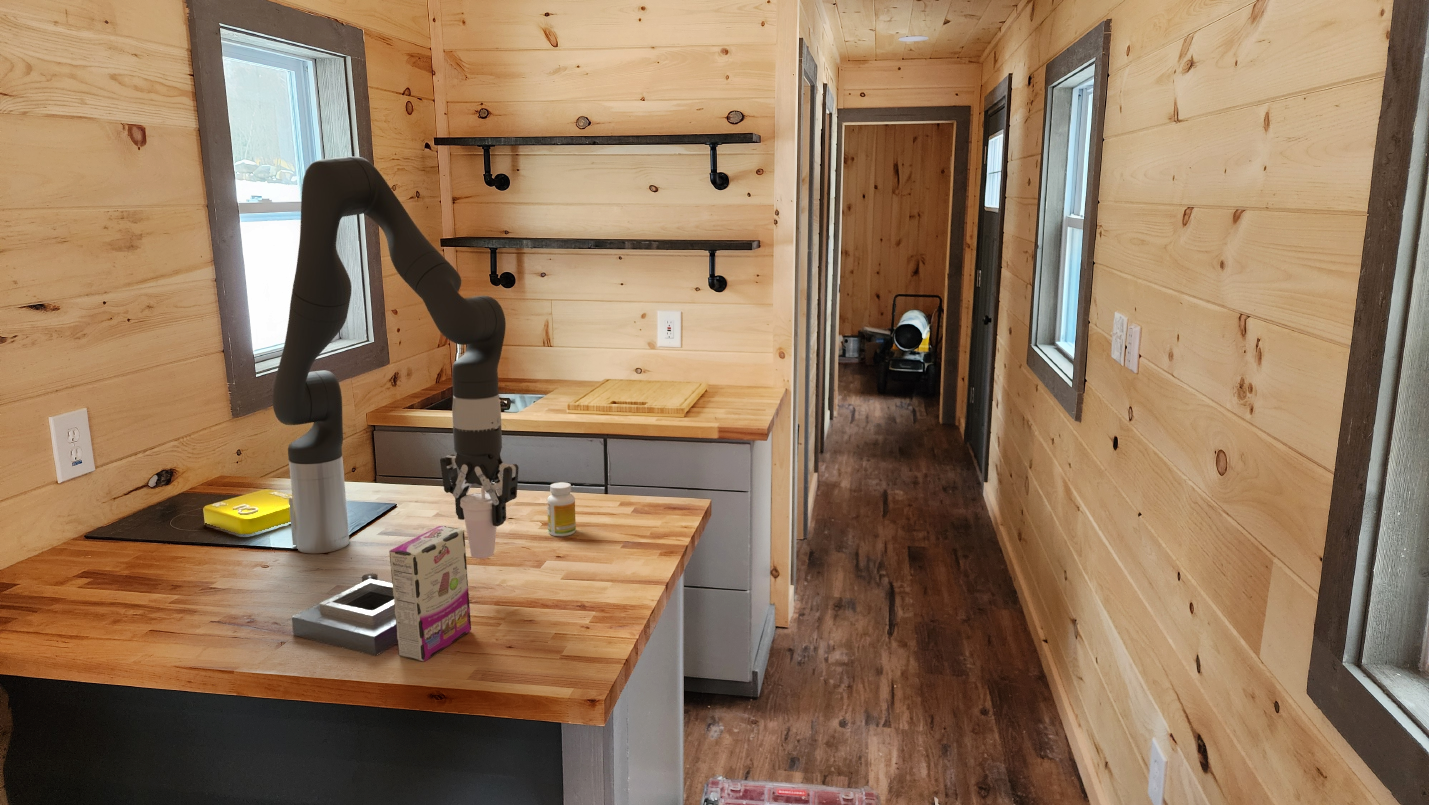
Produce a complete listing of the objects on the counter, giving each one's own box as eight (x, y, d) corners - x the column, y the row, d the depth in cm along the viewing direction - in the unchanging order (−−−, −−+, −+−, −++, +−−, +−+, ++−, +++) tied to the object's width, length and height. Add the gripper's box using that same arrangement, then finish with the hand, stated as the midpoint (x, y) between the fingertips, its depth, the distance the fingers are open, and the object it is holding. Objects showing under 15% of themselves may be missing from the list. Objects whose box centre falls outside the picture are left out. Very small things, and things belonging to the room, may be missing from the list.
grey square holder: (293, 635, 142) (290, 607, 141) (371, 595, 156) (369, 570, 155) (375, 655, 135) (373, 626, 134) (448, 612, 150) (447, 586, 149)
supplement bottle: (581, 530, 187) (580, 483, 185) (563, 538, 182) (561, 490, 180) (560, 525, 190) (559, 479, 188) (542, 533, 185) (540, 486, 183)
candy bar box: (445, 625, 145) (439, 524, 142) (472, 631, 143) (466, 528, 140) (395, 657, 135) (387, 548, 132) (423, 663, 133) (416, 554, 130)
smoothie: (492, 563, 152) (489, 480, 148) (455, 559, 153) (451, 477, 150) (508, 549, 158) (505, 468, 155) (473, 545, 159) (469, 466, 156)
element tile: (313, 519, 194) (311, 497, 193) (245, 541, 182) (243, 517, 181) (269, 507, 202) (266, 485, 201) (200, 527, 189) (198, 504, 188)
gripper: (425, 422, 150) (430, 522, 153) (500, 432, 144) (503, 536, 148) (455, 412, 156) (460, 508, 160) (528, 422, 151) (531, 521, 155)
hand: (481, 521), depth 154 cm, fingers closed on smoothie, 6 cm apart
